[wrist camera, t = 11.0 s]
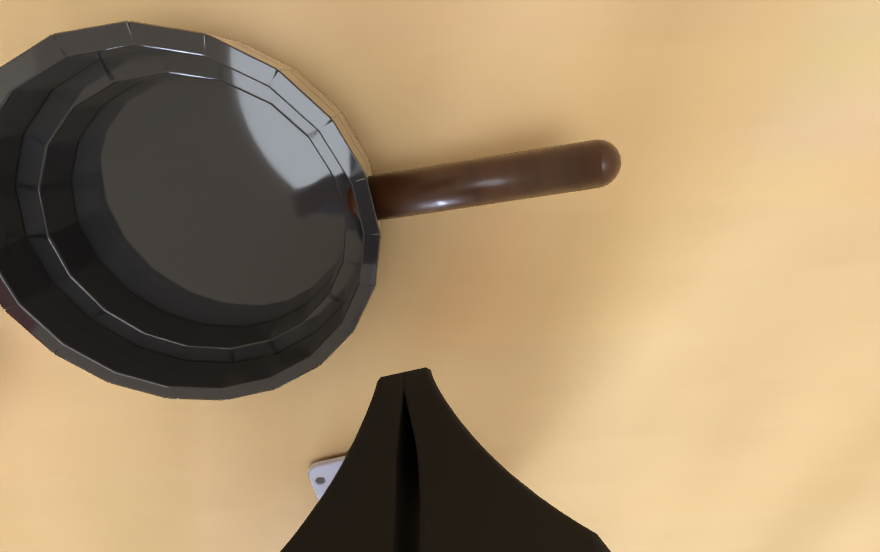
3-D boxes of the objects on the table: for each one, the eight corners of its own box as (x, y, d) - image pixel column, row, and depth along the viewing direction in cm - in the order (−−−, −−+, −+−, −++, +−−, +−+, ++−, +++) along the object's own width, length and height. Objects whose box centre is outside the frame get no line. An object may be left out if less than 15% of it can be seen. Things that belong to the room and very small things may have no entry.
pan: (404, 312, 22) (410, 360, 18) (133, 370, 21) (82, 431, 17) (334, 5, 16) (322, -14, 13) (-33, 70, 16) (-156, 69, 12)
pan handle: (352, 218, 17) (348, 245, 15) (341, 177, 17) (335, 197, 14) (591, 170, 18) (630, 188, 15) (590, 128, 17) (630, 138, 14)
